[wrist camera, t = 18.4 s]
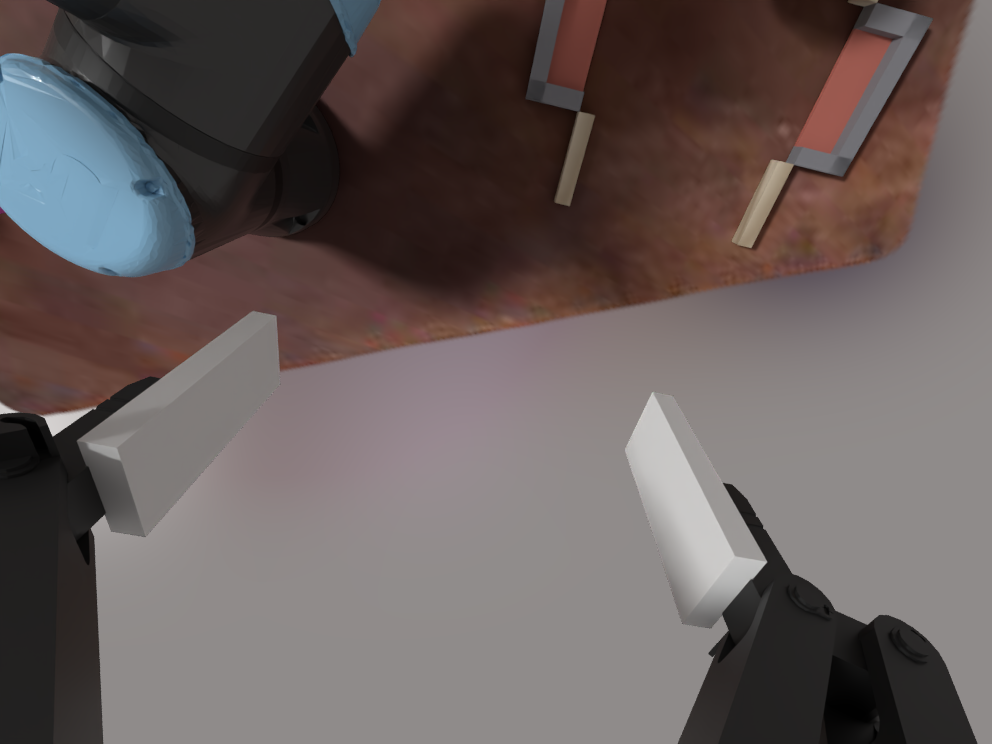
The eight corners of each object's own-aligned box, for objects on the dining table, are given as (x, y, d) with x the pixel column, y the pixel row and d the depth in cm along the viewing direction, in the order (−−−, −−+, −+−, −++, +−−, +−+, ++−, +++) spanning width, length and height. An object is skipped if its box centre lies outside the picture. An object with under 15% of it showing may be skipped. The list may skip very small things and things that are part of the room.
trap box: (554, 200, 44) (559, 211, 39) (690, -320, 28) (729, -419, 23) (744, 244, 46) (773, 260, 41) (979, -225, 29) (1078, -297, 24)
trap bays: (525, 98, 40) (525, 98, 39) (561, -78, 34) (563, -86, 33) (832, 174, 42) (842, 176, 41) (918, 22, 36) (933, 18, 35)
